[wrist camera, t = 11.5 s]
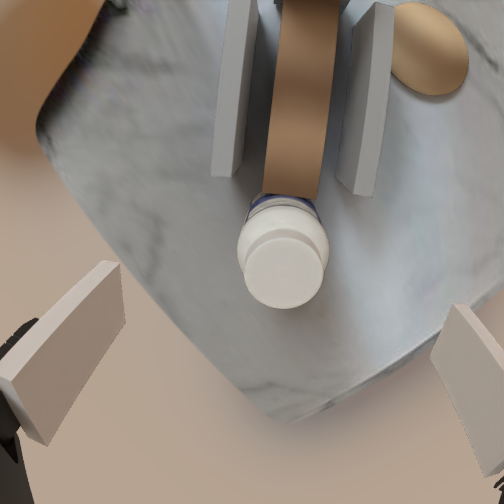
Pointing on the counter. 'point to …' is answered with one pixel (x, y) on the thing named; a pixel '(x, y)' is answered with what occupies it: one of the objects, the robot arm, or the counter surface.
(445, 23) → the coaster
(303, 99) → the sliding block
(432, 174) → the counter surface
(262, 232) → the pill bottle
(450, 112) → the counter surface
